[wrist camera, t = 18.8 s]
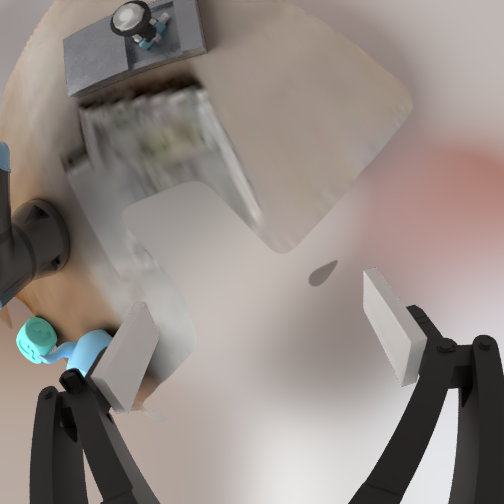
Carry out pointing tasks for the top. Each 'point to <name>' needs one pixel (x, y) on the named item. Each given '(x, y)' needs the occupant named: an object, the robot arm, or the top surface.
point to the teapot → (80, 351)
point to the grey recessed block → (130, 48)
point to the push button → (138, 23)
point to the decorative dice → (36, 339)
